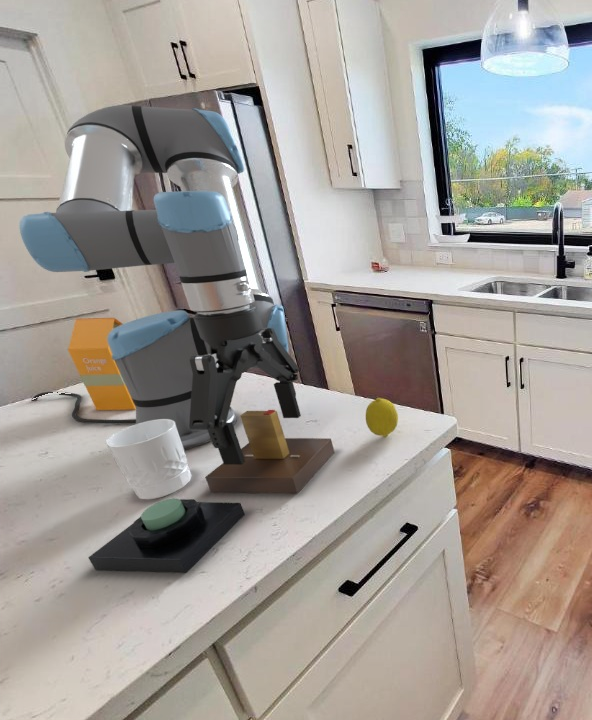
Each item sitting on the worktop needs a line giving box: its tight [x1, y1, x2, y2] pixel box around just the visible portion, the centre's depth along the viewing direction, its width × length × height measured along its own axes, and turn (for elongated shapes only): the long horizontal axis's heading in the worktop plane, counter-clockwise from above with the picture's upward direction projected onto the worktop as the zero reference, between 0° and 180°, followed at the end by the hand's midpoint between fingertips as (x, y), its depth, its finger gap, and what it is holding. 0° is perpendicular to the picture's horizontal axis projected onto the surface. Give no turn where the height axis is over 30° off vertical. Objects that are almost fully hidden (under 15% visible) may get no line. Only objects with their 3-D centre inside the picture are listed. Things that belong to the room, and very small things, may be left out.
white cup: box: [105, 419, 192, 501], centre depth 65 cm, size 8×8×10 cm
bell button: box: [140, 498, 186, 530], centre depth 54 cm, size 4×4×2 cm
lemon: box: [365, 397, 399, 438], centre depth 77 cm, size 6×6×8 cm
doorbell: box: [88, 498, 246, 574], centre depth 55 cm, size 12×10×4 cm
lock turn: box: [239, 409, 289, 459], centre depth 67 cm, size 5×2×8 cm, turn 87°
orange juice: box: [67, 317, 136, 411], centre depth 92 cm, size 8×9×20 cm
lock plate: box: [204, 437, 335, 495], centre depth 69 cm, size 14×11×3 cm
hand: (266, 438), depth 67 cm, fingers open, 13 cm apart
